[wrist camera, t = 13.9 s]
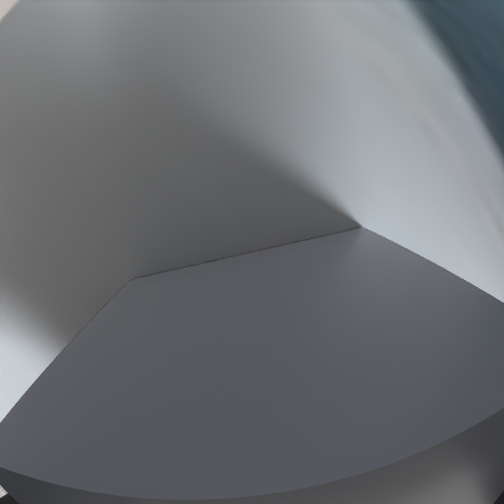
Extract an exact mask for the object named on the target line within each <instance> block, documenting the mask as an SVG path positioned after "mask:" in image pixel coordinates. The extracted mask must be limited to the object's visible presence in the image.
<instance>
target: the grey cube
mask: <svg viewBox="0 0 504 504" xmlns="http://www.w3.org/2000/svg"><path fill="white" fill-rule="evenodd" d="M0 485H1V486H2V487H3V488H4V489H5V490H6V491H7V492H8V493H9V494H10V495H11V496H12V497H13V498H14V499H15V500H16V501H17V502H18V503H19V504H494V502H495V501H496V500H497V499H498V497H499V496H500V495H501V493H502V492H503V491H504V303H503V302H501V301H500V300H498V299H496V298H495V297H493V296H491V295H490V294H488V293H486V292H484V291H483V290H481V289H479V288H478V287H476V286H474V285H472V284H471V283H469V282H467V281H466V280H464V279H462V278H460V277H458V276H457V275H455V274H453V273H451V272H449V271H448V270H446V269H444V268H442V267H440V266H439V265H437V264H435V263H433V262H431V261H429V260H427V259H425V258H424V257H422V256H420V255H418V254H416V253H414V252H412V251H410V250H408V249H406V248H404V247H402V246H400V245H398V244H397V243H395V242H393V241H391V240H389V239H387V238H385V237H383V236H381V235H378V234H376V233H374V232H372V231H370V230H368V229H366V228H364V227H362V228H357V229H353V230H348V231H344V232H339V233H335V234H331V235H326V236H322V237H317V238H313V239H308V240H304V241H300V242H295V243H291V244H286V245H282V246H277V247H273V248H269V249H264V250H260V251H255V252H251V253H246V254H242V255H238V256H233V257H229V258H224V259H220V260H215V261H211V262H206V263H202V264H198V265H193V266H189V267H184V268H180V269H175V270H171V271H167V272H162V273H158V274H153V275H149V276H144V277H140V278H136V279H131V280H130V281H129V282H128V283H127V284H126V285H125V286H124V287H123V288H122V289H121V290H120V291H119V292H118V293H117V294H116V295H115V296H114V297H113V298H112V299H111V300H110V301H109V302H108V303H107V304H106V305H105V306H104V307H103V308H102V309H101V310H100V311H99V312H98V313H97V314H96V316H95V317H94V318H93V319H92V320H91V321H90V322H89V323H88V324H87V325H86V326H85V327H84V328H83V329H82V330H81V331H80V332H79V333H78V334H77V335H76V336H75V338H74V339H73V340H72V341H71V342H70V343H69V344H68V345H67V346H66V347H65V348H64V349H63V350H62V352H61V353H60V354H59V355H58V356H57V357H56V358H55V359H54V360H53V362H52V363H51V364H50V365H49V366H48V367H47V368H46V369H45V370H44V372H43V373H42V374H41V375H40V376H39V377H38V378H37V380H36V381H35V382H34V383H33V384H32V385H31V387H30V388H29V389H28V390H27V391H26V392H25V394H24V395H23V396H22V397H21V398H20V399H19V401H18V402H17V403H16V404H15V406H14V407H13V408H12V409H11V410H10V412H9V413H8V414H7V415H6V417H5V418H4V419H3V420H2V422H1V423H0Z"/></svg>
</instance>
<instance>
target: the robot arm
mask: <svg viewBox="0 0 504 504" xmlns="http://www.w3.org/2000/svg"><path fill="white" fill-rule="evenodd" d="M0 504H19V503H18V502H17V501H16V500H15V499H14V498H13V497H12V496H11V495H10V494H9V493H8V494H6V495H4V496H3V497H1V498H0ZM494 504H504V491H503V492H502V493H501V495H500V496H499V497H498V499H497V500H496V501H495V502H494Z"/></svg>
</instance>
